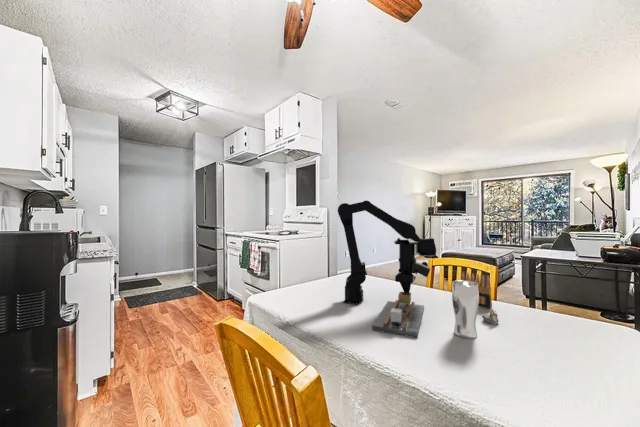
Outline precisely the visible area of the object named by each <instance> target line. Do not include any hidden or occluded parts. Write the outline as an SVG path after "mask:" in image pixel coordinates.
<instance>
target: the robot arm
mask: <svg viewBox="0 0 640 427" xmlns="http://www.w3.org/2000/svg"><path fill="white" fill-rule="evenodd" d="M365 211H366V212H367V213H369V214H370V215H371V216H374V217H375V218H377V219H378V220H380V221H381V222H383V223H385V224H387V225H388V226H390V227H391V229H392V230H394V231H395V232H396V233H397V234H398V235H399V236H401V237H402V238H404V239H401V238H400V237H398V238H397V239H396V240H395V241H393V243H394V244H395V245H399V247H398V248H399V250H398V251H399V255H398V256H399V257H398V262H399V263H398V264H399V268H398V273H397V274H395V277H394V278H395V280H394V282H396V283H400V286H401V288H402V290H403V291H402V292H409V293H411V292H410V290H411V286H412V284H413V283H414V282H415V280H416V277H417V276H414V274H415V275H418V274H420V275H422V277H425V278H428V276H429V275H430V271H431V267H430V266H429V263H428V262H427V261H422V262H417V258H416V257H415V256H416V254H418V256H419V257H435V256H436V254H437V247H436V243H435V238H432V237H430V238H428V237H427V238H420V236H419V235H418V234H417V232H416V228H415V226H414V225H413V224H411V223H408V222H406V221H404V220H401V219H398V218H396V217H395V216H393V215H391V214H390V213H388V212H386V211H385V210H383V209H381V208H380V207H378V206H376V205H375V204H373V203H371V201H369V200H363V201H361V202H356V203H351V204H349V203H346V202H344V203H340V205H339V206H338V208H337V214H338V217H339V219H340V221H341V223H342V226H343V229H344V234H345V235H344V236H345V239H346V243H347V244H346V245H347V249H348V254H349V260H350V274H349V276H347V277H346V279H345V285H344V300H343V303H345V304H351V305H352V304H353V305H361V303H363V301H364V289H363V285H362V284H364V282H365V281H366V277H367V275H368V271H367V269H366V262H365V261H363V262H362V260H361V258H360V255H359V249H358V245H357V244H358V243H357V239H356V235H355V229H354V222H353V220H354V216H353V215H354V214H355V213H360V212H365ZM410 240H411V241H410ZM415 253H416V254H415Z"/></svg>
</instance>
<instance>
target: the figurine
mask: <svg viewBox="0 0 640 427" xmlns="http://www.w3.org/2000/svg"><path fill="white" fill-rule="evenodd" d="M489 308H491V306H490V307H489ZM498 316H499V315H498V314H497V310H494V309H493V307H492V308H491V309H489V312H486V313H485V312H484V313H482V315H481V317H482V321H484V322H486V323H489V324H492V325H497V324H498V323H499V318H498Z"/></svg>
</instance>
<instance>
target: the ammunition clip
mask: <svg viewBox="0 0 640 427" xmlns="http://www.w3.org/2000/svg"><path fill="white" fill-rule="evenodd" d="M471 273H472V274H471V277H470V274H469V272H466V276H465V272H464V271H462V272H461V279H460V280H466V281H472V282H475V283H477V284H478V292H479V305H478V307H479V306H480V307H479V308H484V309H489V310H490V309H491V308H492V309H493V306H492V305H493V304H492V303H493V302H492V287H491V279H490V275H487V276H486V279H485V275H484V274H481V279H480V275H479V273H477V274H476V277H475V275H474V273H473V272H471ZM470 278H471V279H470ZM480 280H481V281H480ZM490 306H491V308H489V307H490Z"/></svg>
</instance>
